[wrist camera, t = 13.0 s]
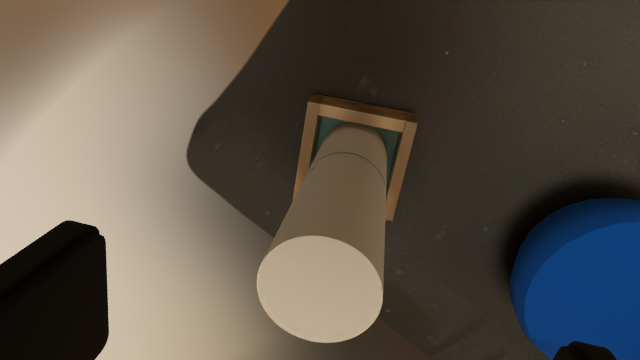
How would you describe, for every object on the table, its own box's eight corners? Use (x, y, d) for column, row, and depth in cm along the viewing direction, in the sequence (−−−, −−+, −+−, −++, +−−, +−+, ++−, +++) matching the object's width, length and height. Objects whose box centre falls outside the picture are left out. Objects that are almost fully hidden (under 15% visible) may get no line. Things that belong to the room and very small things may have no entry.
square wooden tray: (299, 185, 50) (292, 199, 47) (314, 93, 46) (307, 101, 42) (392, 205, 50) (392, 221, 46) (415, 113, 45) (418, 123, 42)
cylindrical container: (308, 155, 48) (233, 292, 25) (349, 107, 45) (307, 210, 22) (357, 195, 49) (328, 362, 26) (401, 149, 46) (410, 291, 23)
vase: (592, 342, 52) (694, 512, 35) (462, 269, 51) (500, 406, 34) (718, 229, 45) (928, 372, 27) (570, 142, 44) (690, 231, 26)
